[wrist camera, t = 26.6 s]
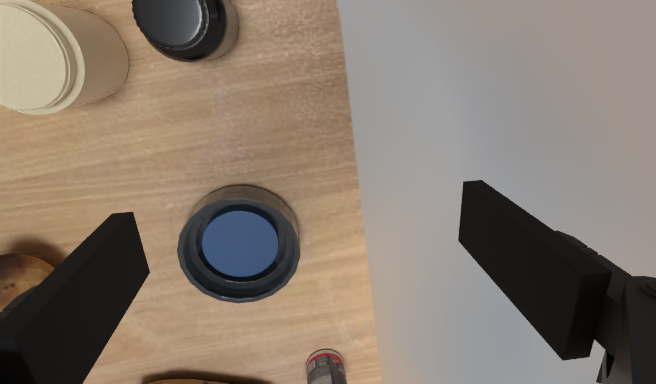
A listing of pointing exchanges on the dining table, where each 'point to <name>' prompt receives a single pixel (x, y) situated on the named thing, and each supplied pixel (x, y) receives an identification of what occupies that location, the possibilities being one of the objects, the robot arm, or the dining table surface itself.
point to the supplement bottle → (188, 27)
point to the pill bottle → (325, 368)
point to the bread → (184, 381)
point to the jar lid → (240, 240)
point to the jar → (57, 57)
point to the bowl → (233, 286)
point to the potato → (20, 275)
